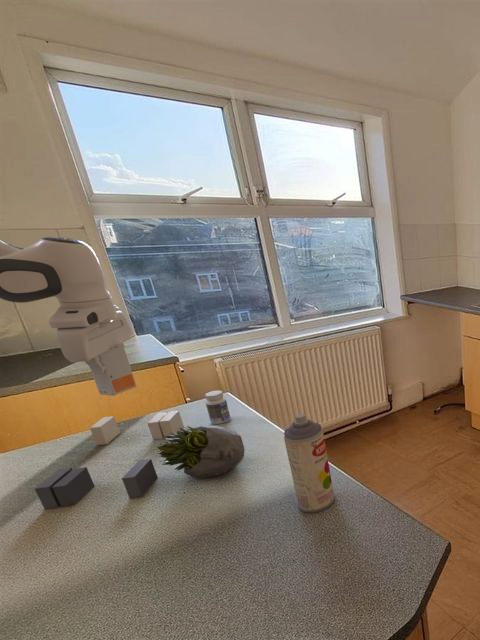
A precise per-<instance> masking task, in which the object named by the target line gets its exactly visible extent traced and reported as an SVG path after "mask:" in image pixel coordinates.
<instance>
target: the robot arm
mask: <svg viewBox="0 0 480 640" xmlns="http://www.w3.org/2000/svg"><path fill="white" fill-rule="evenodd" d="M48 298H56V299H57V301H58V303H59V307H58V308H57V310H56V311H55V312H54V313H53V314H52V315H51V316H50V317H49V319H48V323H49V326H50V328H52V329H55V337H56V340H57V343H58V346H59V348H60V350H61V352H62V354H63V357H64V358H65V359H66V361H68V362H70V363H85V364H86V365H88V366H89V368H90V367H91V368H92V370H93V373H94V374H96V375H98V374H103V373H105V372H106V369H105V365H101V364H100V362H99V361H98V360H99V355H101V354H102V353H104V352H106V351H108V350H109V347H110V345H112V344H114V343H116V342H122V343H123V346H124V347H125V344H124V343H125V342H127V341H129V340H131V339H132V338H133V330H132V328H131V324H130V323H129V320H128V318H127V317H126V315H125V313H124V312H122V311H121V310H120V307H118V306H117V305H116V304H115V303H114V301H113V298H112V295H111V293H110V292H109V290H108V289H107V287H106V277H105V274H104V271H103V269H102V266H101V263H100V261H99V259H98V256H97V255H96V253H95V251H94V250H93V248H92V246H90V245H89V244H87V243H86V242H84V241H82V240H80V239H75V238H69V237H59V236H56V237H55V236H44V237H41V238H40V239H38V241H36V242H35V243H33V244H31V245H29V246H27V247H25V248H24V247H20V246H17V245H13V244H11V243H8V242H7V241H4V240H3V239H0V299H1V300H4V301H7V302H11V303H17V304H18V303H21V304H22V303H23V304H24V303H25V304H27V303H33V302H37V301H39V300H43V299H48Z"/></svg>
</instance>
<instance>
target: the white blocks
mask: <svg viewBox="0 0 480 640" xmlns="http://www.w3.org/2000/svg"><path fill="white" fill-rule="evenodd" d="M146 423H147V424H146V425H147V427H148V430H149V432H150V436H151V438H152V440H153V441H154V440H155V441H156V440H163V439H167V437H166V436H167V435H169V436H171V435H172V434H171V433H173V434H177V433H176V432H177V431H182V430H181V429H180V428H182V429H184V428H185V425H184V423H183V419H182V415H181V413H180V410H171V411H163V412H162V411H161V412H157V413H156V414H155V415H154V416H153V417H152V418H151V419H149V421H147V422H146ZM179 427H180V428H179ZM89 429H90V432H91V434H92V438H93V439H94V442H95V444H96V446H104V445H108V444H109V443H111V441H113V440H114V439H115V438H117V436H119V435H120V434H121V432H120V429H119V426H118V424H117V421H116V418H115V416H111V415H110V416H104V417H102V418H100V419H99V420H98V421H96V422H95V423H94V424H92V425H91V426H90V427H89ZM177 435H178V434H177Z"/></svg>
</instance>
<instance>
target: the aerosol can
mask: <svg viewBox="0 0 480 640" xmlns="http://www.w3.org/2000/svg"><path fill="white" fill-rule="evenodd" d="M294 419H295V420H294V421H293V422H292V423H291V424H290V425H289V427H286V429H285V430H284V432H283V440H284V445H285V449H286V454H287V459H288V462H289V468H290V472H291V478H292V482H293V486H294V487H293V488H294V492H295V496H296V500H297V505H298V509H299V510H300V511H301V512H302V513H305V514H316V513H321V512H322V511H325V510H327V509H329V508H330V507H332V505H333V504H334V502H335V499H336V498H335V493H334V488H333V487H334V486H333V482H332V481H333V480H332V474H331V469H330V464H329V457H328V453H327V452H328V451H327V446H326V440H325V435H324V430H323V429H322V425H321V424H320V423H318V422H315V421H313V420H311V419H309V418H307V417H306V414H305V413H298V414H296V415H295V416H294Z"/></svg>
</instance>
